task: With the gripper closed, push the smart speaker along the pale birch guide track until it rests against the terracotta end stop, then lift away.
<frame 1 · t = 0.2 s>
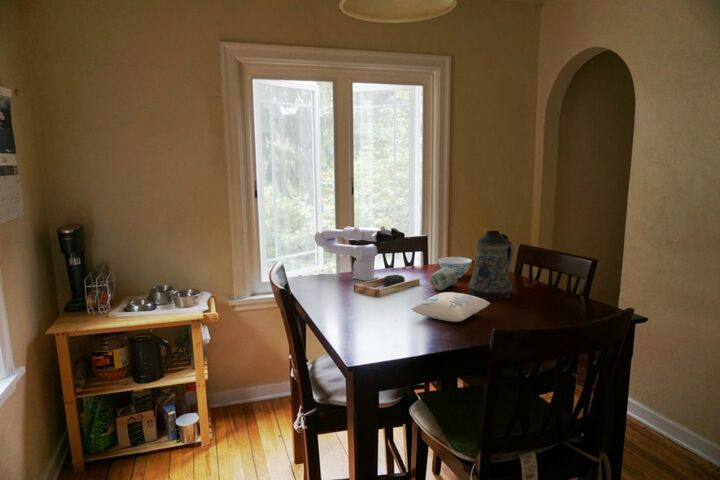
hand: (398, 236, 192), 21 cm above the table, fingers open, 7 cm apart
smart speaker: (394, 286, 196), resting in guide track
chinaware: (454, 276, 210), on the table
beer stein: (490, 293, 181), on the table
spool: (443, 288, 191), on the table
guide track: (386, 287, 192), on the table
pouch: (450, 317, 153), on the table
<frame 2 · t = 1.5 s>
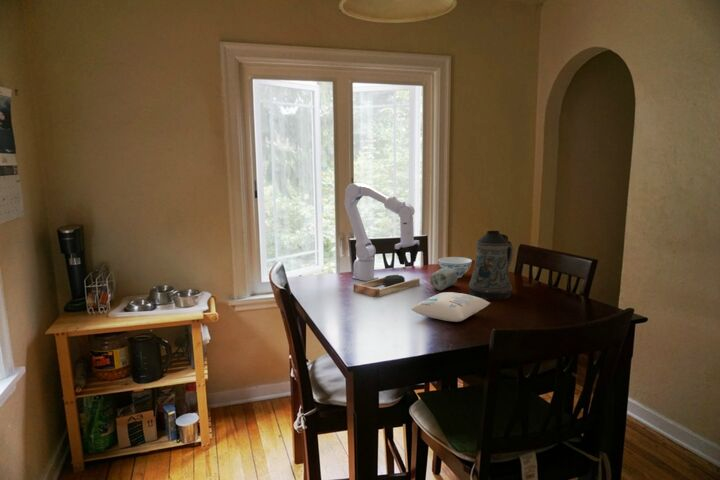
hand: (407, 262, 201), 9 cm above the table, fingers open, 7 cm apart
nothing on the table moved.
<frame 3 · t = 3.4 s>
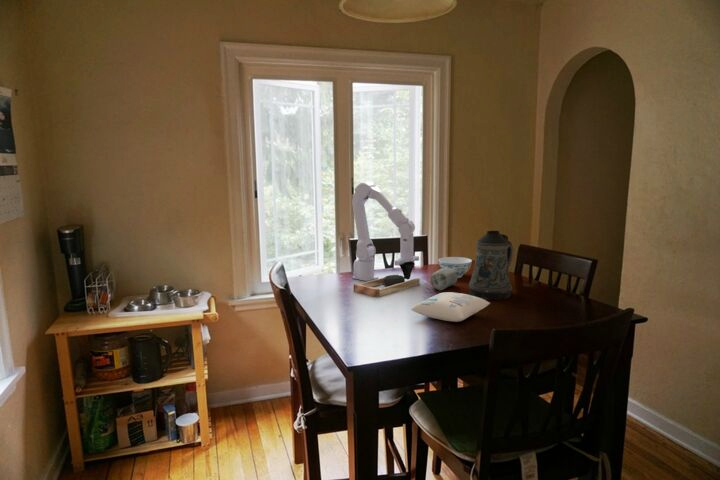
hand: (407, 278, 201), 1 cm above the table, fingers closed
nothing on the table moved.
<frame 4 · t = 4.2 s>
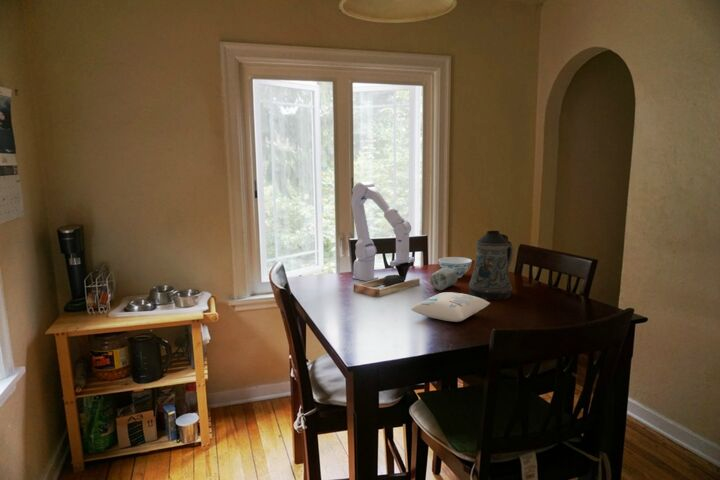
hand: (402, 279, 199), 1 cm above the table, fingers closed
smart speaker: (394, 286, 196), resting in guide track, touching gripper
everything else where it was.
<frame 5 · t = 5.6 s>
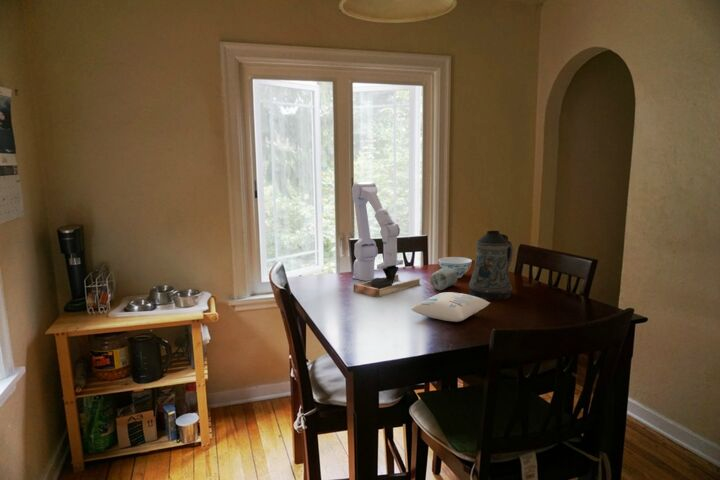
hand: (390, 283, 194), 1 cm above the table, fingers closed
smart speaker: (381, 289, 190), resting in guide track, touching gripper
everything else where it was.
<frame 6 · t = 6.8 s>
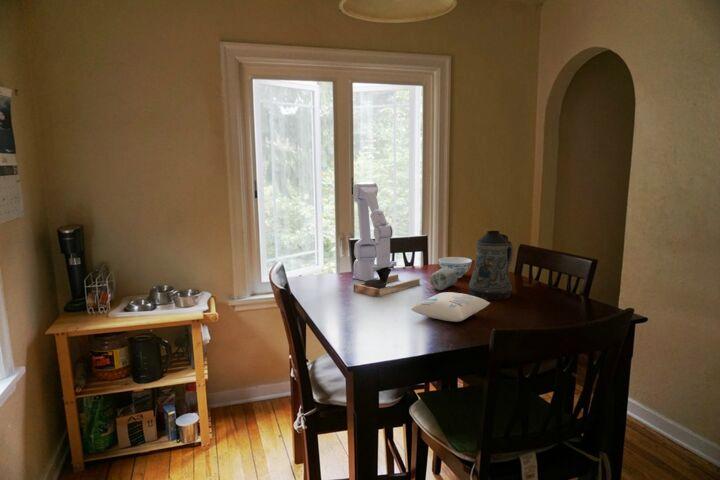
hand: (383, 285, 191), 1 cm above the table, fingers closed
smart speaker: (375, 291, 188), resting in guide track, touching gripper
everything else where it was.
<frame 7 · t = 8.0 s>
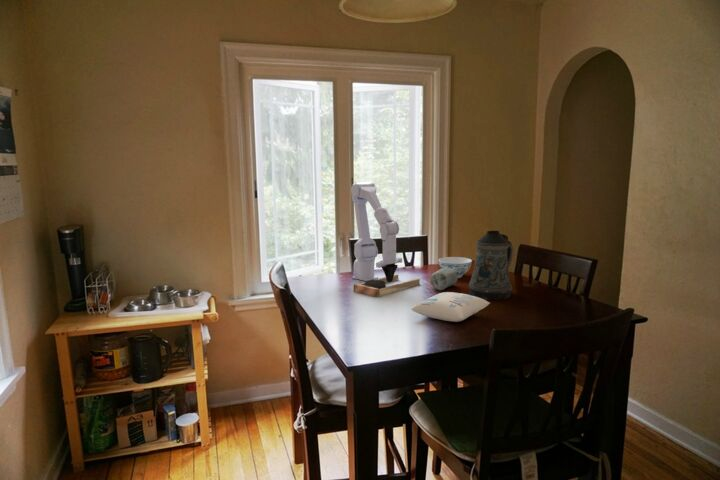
hand: (389, 281, 193), 2 cm above the table, fingers closed
smart speaker: (375, 292, 188), resting in guide track
everything else where it was.
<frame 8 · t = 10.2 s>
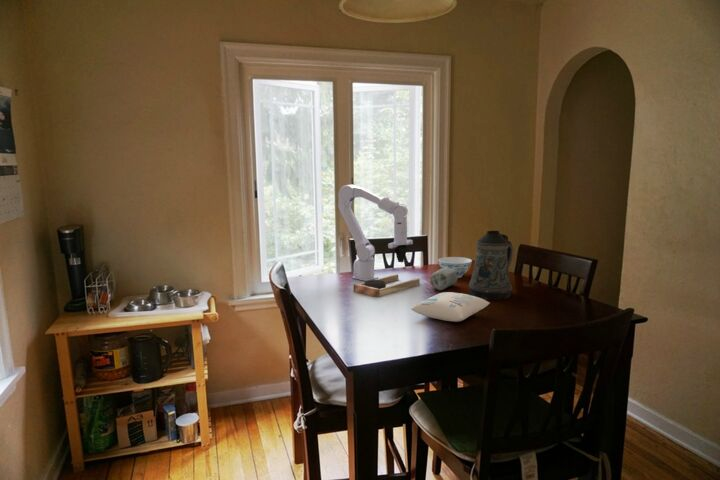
hand: (400, 262, 204), 8 cm above the table, fingers closed
nothing on the table moved.
at the end: smart speaker 0.1 cm from the target spot, resting in guide track; smart speaker moved 12.1 cm from its start; smart speaker tilted 0° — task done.
